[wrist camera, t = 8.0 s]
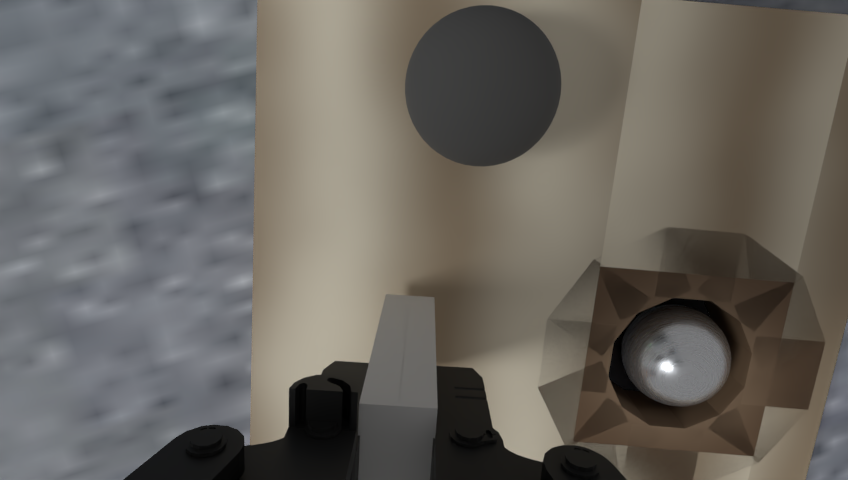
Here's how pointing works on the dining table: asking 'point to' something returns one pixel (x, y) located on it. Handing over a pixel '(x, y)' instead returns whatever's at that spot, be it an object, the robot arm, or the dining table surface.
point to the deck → (566, 221)
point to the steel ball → (676, 355)
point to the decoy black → (483, 85)
